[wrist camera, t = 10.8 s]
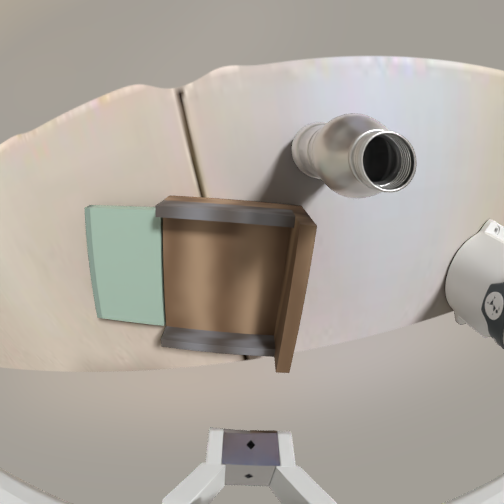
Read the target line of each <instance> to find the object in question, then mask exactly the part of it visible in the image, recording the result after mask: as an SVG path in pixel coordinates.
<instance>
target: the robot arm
mask: <svg viewBox="0 0 504 504" xmlns="http://www.w3.org/2000/svg"><path fill="white" fill-rule="evenodd" d="M445 293H446V298H447V301H448V303H449V305H450V306H451V308H452V309H453V310H454V314H455V320H456V322H457V323H458V324H460V325H462V324H466V323H467V324H468V325H469V326H470V327H472V328H473V329H474V330H475V331H476V332H478V333H479V334H480V335H481V336H482V337H484V338H487V337H492V338H493V339H494V341H495V342H496V343H497V344H498V345H499V346H501V347H502V348H503V349H504V227H503V226H502V225H500V224H499V223H497V222H496V221H494V220H492V219H489V220H488V221H487V222H486V223H485V224H484V226H483V227H482V229H481V230H480V231H479V232H478V233H477V234H476V235H474V236H473V237H471V238H470V239H469V240H467V241H466V242H465V243H464V244H463V246H462V247H461V248H460V249H459V251H458V252H457V254H456V255H455V257H454V259H453V261H452V263H451V265H450V268H449V271H448V274H447V278H446V285H445ZM224 485H248V486H269V488H270V489H271V490H272V492H273V493H274V494H275V496H276V497H277V498H278V500H279V501H280V502H281V504H337V503H336V502H335V501H334V500H333V499H332V498H331V497H330V496H329V495H328V494H327V493H326V492H325V491H324V490H323V489H322V488H321V487H320V486H319V485H318V484H317V483H316V482H315V481H314V480H313V479H312V478H311V477H310V476H309V475H308V474H307V473H306V472H305V471H304V470H303V469H302V468H301V467H300V466H296V465H295V457H294V449H293V442H292V434H291V432H290V431H256V430H255V431H254V430H250V431H247V430H233V429H223V428H210V430H209V436H208V444H207V453H206V462H205V463H200V464H199V466H197V468H195V469H194V470H193V471H192V472H191V473H190V474H189V475H188V476H187V477H186V478H185V479H184V480H183V481H182V482H181V483H180V484H179V485H178V486H177V487H176V488H174V489H173V490H172V491H171V492H170V493H169V494H168V495H167V496H166V497H165V498H163V502H162V504H210V503H211V501H212V500H213V499H214V498H215V497H216V495H217V494H218V493H219V492H220V491H221V489H222V488H223V487H224ZM0 504H72V503H70V502H67V501H65V500H63V499H60V498H58V497H56V496H53V495H51V494H49V493H47V492H44V491H43V490H41V489H39V488H37V487H35V486H32V485H30V484H29V483H27V482H25V481H23V480H21V479H19V478H17V477H16V476H14V475H12V474H10V473H9V472H7V471H5V470H4V469H2V468H0ZM442 504H504V474H502V475H500V476H498V477H497V478H495V479H493V480H491V481H489V482H487V483H485V484H484V485H482V486H480V487H478V488H476V489H474V490H472V491H469V492H467V493H465V494H463V495H461V496H459V497H456V498H454V499H452V500H449V501H447V502H445V503H442Z"/></svg>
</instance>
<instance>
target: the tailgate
mask: <svg viewBox="0 0 504 504" xmlns="http://www.w3.org/2000/svg"><path fill="white" fill-rule="evenodd" d="M85 223H86V236H87V247H88V257H89V266H90V274H91V281H92V288H93V294H94V300H95V306H96V312H97V317H98V318H104V319H111V320H119V321H126V322H135V323H143V324H152V325H161V326H164V325H165V322H166V313H165V294H164V267H163V218H162V217H155V207H136V206H105V205H89V206H87V207H85Z"/></svg>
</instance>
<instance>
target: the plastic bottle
mask: <svg viewBox="0 0 504 504" xmlns="http://www.w3.org/2000/svg"><path fill="white" fill-rule="evenodd" d="M291 149H292V157H293V160H294V162H295V164H296V166H297V167H298V168H299V169H300V170H301V171H302V172H303V173H304V174H306V175H308V176H310V177H313V178H316V179H321V180H322V181H323V182H324V183H325V184H326V185H327V186H328V187H329V188H330V189H331V190H333V191H334V192H336V193H338V194H340V195H342V196H345V197H349V198H366V197H370V196H374V195H376V194H378V193H381V192H382V191H383V192H395V191H399V190H401V189H403V188H404V187H406V186H407V185H408V184H409V183H410V182H411V180H412V178H413V177H414V174H415V171H416V155H415V152H414V149H413V147H412V145H411V144H410V143H409V141H408V140H407V139H406V138H405V137H403V136H402V135H400V134H398V133H396V132H393V131H389V130H388V129H387V128H386V127H385V126H384V125H383V124H381V123H380V122H379V121H377V120H376V119H374V118H372V117H369V116H367V115H363V114H356V113H350V114H344V115H341V116H338V117H336V118H334V119H332V120H331V121H329V122H328V123H325V122H315V123H311V124H308V125H306V126H304V127H303V128H301V129H300V130H299V131H298V132H297V134H296V135H295V137H294V139H293V142H292V148H291Z"/></svg>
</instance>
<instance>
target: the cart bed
mask: <svg viewBox="0 0 504 504" xmlns="http://www.w3.org/2000/svg"><path fill="white" fill-rule="evenodd" d="M155 217H162V218H163V267H164V294H165V313H166V328H165V331H164V333H163V335H162V338H161V344H162V347H169V348H177V349H186V350H194V351H204V352H214V353H225V354H238V355H253V356H272V357H274V358H275V367H276V372H282V373H289V371H290V367H291V362H292V358H293V353H294V349H295V344H296V339H297V335H298V330H299V325H300V320H301V315H302V310H303V304H304V299H305V294H306V288H307V283H308V277H309V272H310V266H311V260H312V254H313V248H314V242H315V235H316V229H317V225H316V224H315V223H314V221H313V220H312V219H311V218H310V216H309V215H308V214H307V212H306V211H305V210H304V209H303V207H302V206H297V205H287V204H277V203H266V202H255V201H243V200H231V199H217V198H202V197H186V196H169V197H167V198H166V199H164V200H163V201H162V202H160V203H159V204H157V205H156V206H155Z"/></svg>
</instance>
